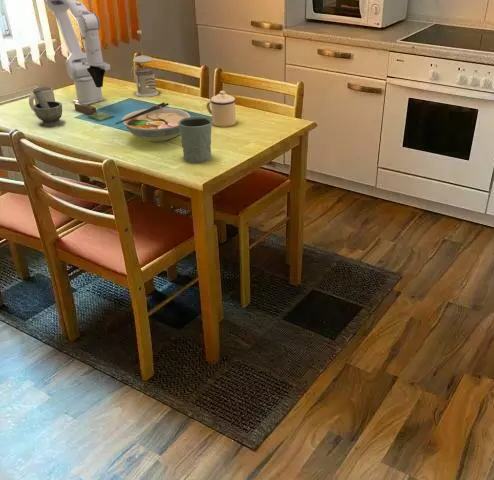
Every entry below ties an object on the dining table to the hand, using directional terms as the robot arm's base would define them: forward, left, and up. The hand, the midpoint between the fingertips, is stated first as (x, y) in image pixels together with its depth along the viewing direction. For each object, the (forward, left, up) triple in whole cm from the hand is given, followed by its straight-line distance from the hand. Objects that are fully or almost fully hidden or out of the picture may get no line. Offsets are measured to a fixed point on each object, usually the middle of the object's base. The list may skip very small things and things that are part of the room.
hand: (99, 86), depth 223 cm
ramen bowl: (+8, +41, -9) cm, 43 cm away
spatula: (+6, +1, -9) cm, 11 cm away
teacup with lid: (-18, +46, -9) cm, 50 cm away
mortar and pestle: (+22, -2, -9) cm, 24 cm away
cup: (+17, -14, -9) cm, 24 cm away
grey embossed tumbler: (+12, +64, -9) cm, 66 cm away
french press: (-25, -4, -9) cm, 27 cm away
